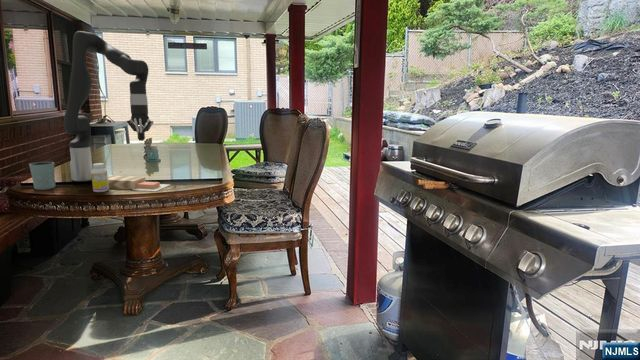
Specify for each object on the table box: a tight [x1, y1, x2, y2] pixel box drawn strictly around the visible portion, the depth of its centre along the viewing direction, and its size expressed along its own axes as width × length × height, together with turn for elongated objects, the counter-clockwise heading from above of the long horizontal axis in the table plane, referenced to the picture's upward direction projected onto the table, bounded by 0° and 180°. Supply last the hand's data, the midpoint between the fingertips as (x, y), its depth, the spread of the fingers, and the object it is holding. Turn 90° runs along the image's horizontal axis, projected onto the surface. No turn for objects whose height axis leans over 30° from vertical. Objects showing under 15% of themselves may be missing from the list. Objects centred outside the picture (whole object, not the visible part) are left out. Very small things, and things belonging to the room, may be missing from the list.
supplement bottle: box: [91, 162, 110, 193], centre depth 197 cm, size 7×7×13 cm
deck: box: [107, 174, 146, 190], centre depth 208 cm, size 20×10×4 cm, turn 81°
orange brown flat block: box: [136, 181, 161, 189], centre depth 205 cm, size 9×6×2 cm, turn 81°
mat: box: [132, 183, 171, 192], centre depth 206 cm, size 12×14×1 cm
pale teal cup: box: [29, 161, 56, 191], centre depth 202 cm, size 10×10×12 cm
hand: (141, 140), depth 202 cm, fingers closed
